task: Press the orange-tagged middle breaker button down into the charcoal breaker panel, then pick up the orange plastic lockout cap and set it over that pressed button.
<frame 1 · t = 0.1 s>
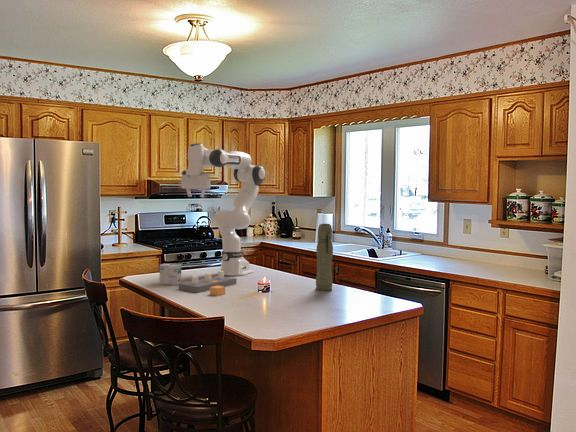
hand: (195, 196, 295), 48 cm above the table, tool pointing down, fingers open, 8 cm apart
light bulb box: (170, 283, 290), on the table
lockout cap: (217, 294, 265), on the table
outer breaker: (195, 280, 275), point 5 cm above the table, slide at 0.0 cm
tagged breaker: (208, 277, 283), point 5 cm above the table, slide at 0.0 cm
breaker panel: (208, 286, 283), on the table
inner breaker: (221, 274, 291), point 5 cm above the table, slide at 0.0 cm
thermos: (324, 289, 280), on the table
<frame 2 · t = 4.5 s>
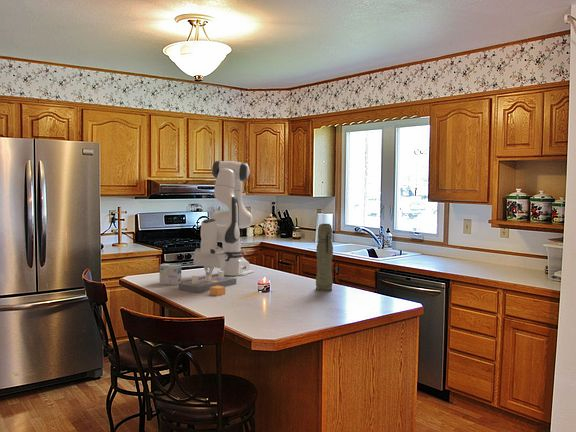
hand: (208, 274, 283), 6 cm above the table, tool pointing down, fingers closed, pressing on tagged breaker
tagged breaker: (208, 278, 283), point 4 cm above the table, slide at 0.7 cm, touching gripper
everything else where it was.
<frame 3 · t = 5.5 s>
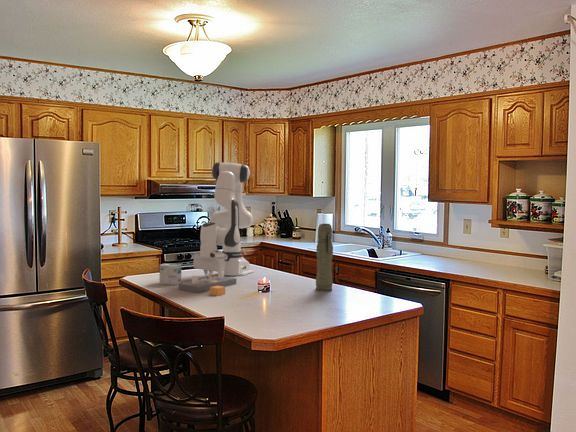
hand: (208, 278, 283), 4 cm above the table, tool pointing down, fingers closed
tagged breaker: (208, 282, 283), point 2 cm above the table, slide at 2.6 cm
everything else where it was.
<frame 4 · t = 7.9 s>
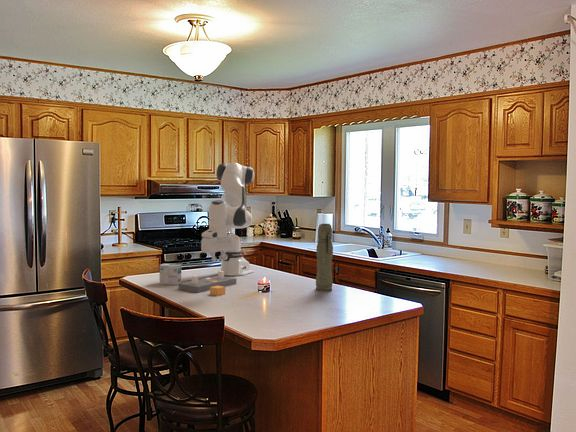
hand: (217, 260, 264), 17 cm above the table, tool pointing down, fingers open, 4 cm apart
nothing on the table moved.
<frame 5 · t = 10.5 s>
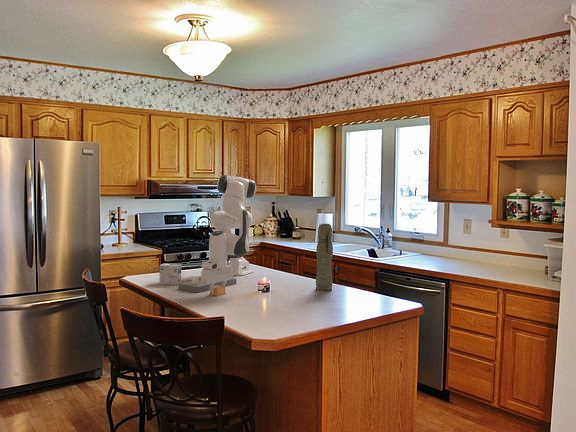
hand: (217, 290, 265), 2 cm above the table, tool pointing down, fingers closed on lockout cap, 5 cm apart
lockout cap: (217, 294, 265), on the table, touching gripper
everything else where it was.
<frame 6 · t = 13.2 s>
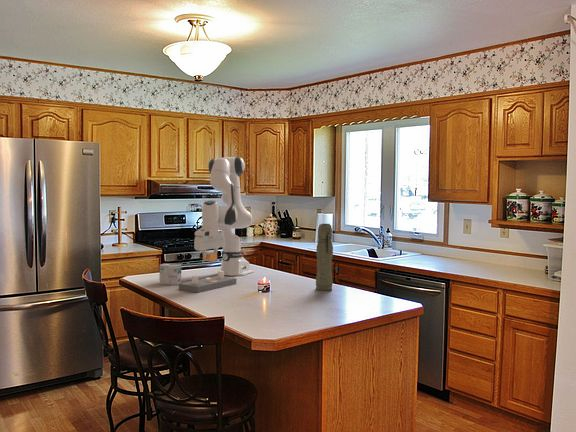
hand: (209, 257, 281), 16 cm above the table, tool pointing down, fingers closed on lockout cap, 5 cm apart
lockout cap: (209, 260, 281), point 15 cm above the table, touching gripper
everything else where it was.
when the fingers open (6 cm above the table, at t = 16.0 s): lockout cap drops 1 cm, resting on breaker panel.
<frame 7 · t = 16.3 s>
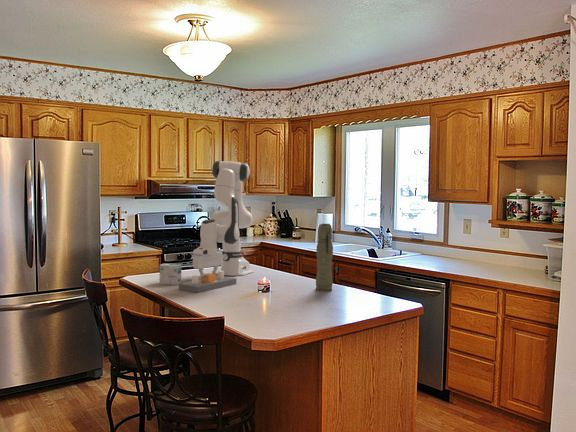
hand: (208, 275, 283), 6 cm above the table, tool pointing down, fingers open, 8 cm apart
lockout cap: (208, 280, 283), point 3 cm above the table, touching breaker panel
everything else where it was.
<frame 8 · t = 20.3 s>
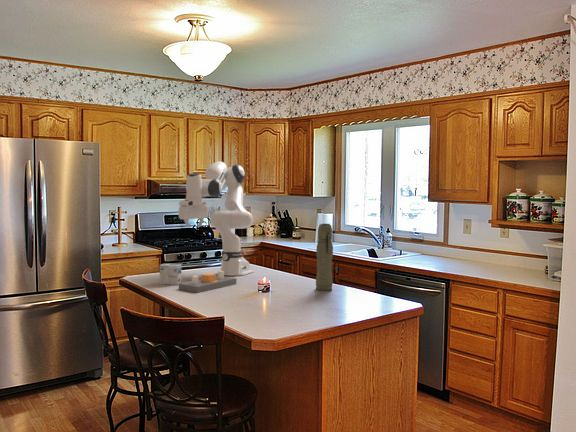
hand: (194, 226, 295), 31 cm above the table, tool pointing down, fingers open, 8 cm apart
nothing on the table moved.
at the end: tagged breaker slide at 2.6 cm; lockout cap 0.1 cm from the tagged breaker (horizontally); lockout cap point 3.0 cm above the table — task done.
